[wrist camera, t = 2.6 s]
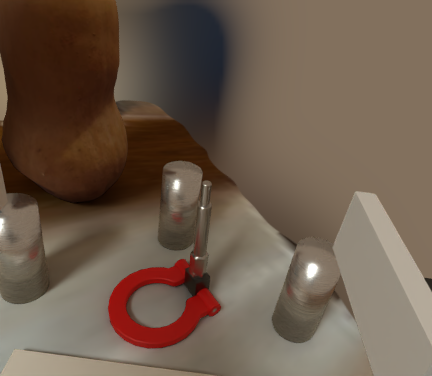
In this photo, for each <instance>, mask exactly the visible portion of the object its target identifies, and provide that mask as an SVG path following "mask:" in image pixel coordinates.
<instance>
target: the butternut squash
mask: <svg viewBox="0 0 432 376" xmlns="http://www.w3.org/2000/svg"><path fill="white" fill-rule="evenodd" d="M0 54H1V58H2V63H3V68H4V74H5V81H6V88H7V95H8V102H7V111H6V115H5V118H4V121H3V136H2V143H3V146H4V149H5V152H6V154H7V156H8V157H9V159H10V161H11V162H12V164H13V166H14V167H15V168H16V169H17V170H18V171H19V172H21V173H22V174H24V175H25V176H26V177H28V178H29V179H31V180H32V181H33V182H34V183H36V184H37V185H38V186H40V187H41V188H42V189H43V190H45V191H46V192H48V193H50V194H51V195H53V196H55V197H57V198H59V199H62V200H65V201H68V202H71V203H76V202H83V201H90V200H94V199H97V198H98V197H100V196H101V195H103V194H104V193H105V192H106V191H107V190H108V189H109V188H110V187H111V186H112V185H113V184H114V183H115V182H116V181H117V180H118V178H119V177H120V175H121V173H122V171H123V169H124V167H125V163H126V158H127V153H128V142H127V134H126V130H125V126H124V123H123V120H122V117H121V115H120V113H119V110H118V108H117V106H116V103H115V100H114V86H115V82H116V79H117V72H118V67H119V22H118V12H117V6H116V1H115V0H0Z"/></svg>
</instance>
